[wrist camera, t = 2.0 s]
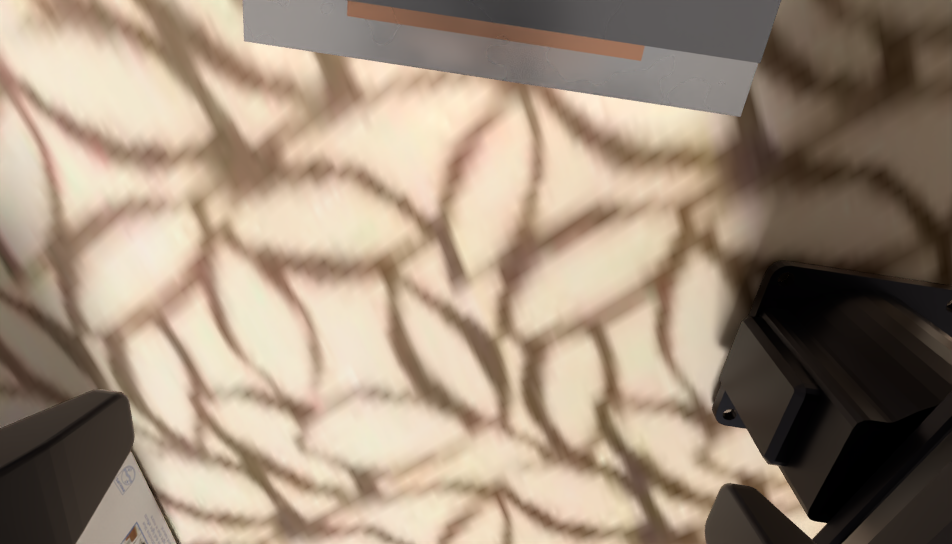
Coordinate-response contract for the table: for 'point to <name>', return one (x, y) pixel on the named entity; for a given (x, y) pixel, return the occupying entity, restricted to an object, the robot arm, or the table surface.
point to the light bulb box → (128, 512)
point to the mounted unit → (544, 42)
